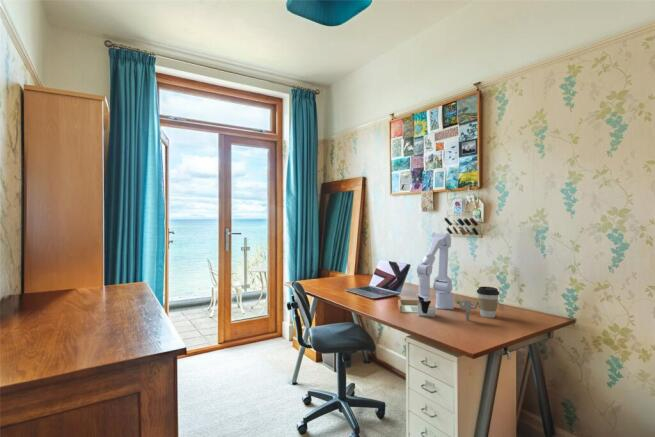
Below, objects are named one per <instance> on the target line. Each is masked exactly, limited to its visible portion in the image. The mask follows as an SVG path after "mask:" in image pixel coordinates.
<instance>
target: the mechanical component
mask: <svg viewBox="0 0 655 437" xmlns="http://www.w3.org/2000/svg"><path fill="white" fill-rule="evenodd" d="M456 304H457V305H458V306H459V308H460V309H463V310H464V311H465V320H466V321H467V322H468V321H470V313H471V310H476V309H478V306H479V301H474V303H472V301H471V300H468V299H467V300H466V299H458V300H457V301H456ZM473 306H474V307H473Z"/></svg>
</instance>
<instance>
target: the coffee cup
mask: <svg viewBox="0 0 655 437" xmlns="http://www.w3.org/2000/svg"><path fill="white" fill-rule="evenodd" d="M476 293H477V298H478V303H479V305H478V306H479V307H478V308H479V315H480V317H483V318H487V319H494V318H495V317H496V315H497V314H496V313H497V308H498V302H499V296H500V291H499V290H498V288H496V287H492V286H479V287H478V289H476Z"/></svg>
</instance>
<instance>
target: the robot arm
mask: <svg viewBox="0 0 655 437" xmlns="http://www.w3.org/2000/svg"><path fill="white" fill-rule="evenodd" d="M430 242H431V244H430V247H429V250H428V252H427V253H425V254H424V257H423V259H422V261H421V263H419V264H418V265H417V267H416V273H417V277H418V293H416V297H417V299H418V300H419V301H420V302H421V305H422V311H423V313H425V314H427V312H428V307H430V304H431V303H432V300H429V298H430V297H431V294H430V293H431V289H430V287H431V285H430V284H431V283H430V282H431V275H432V273H433V265H434V262H435V261H436V256H435V255H436V253H437V252H439V255H438V272H437V274H438V275H436V276H435V277H434V278H433V284H432V288H433V290H434V292H435V294H436V295H435V304H434V308H435V309H439V310H454V294H453V292H452V291H453V279H452V278H450V277H449V276H448V266H449V265H448V262H449V248H451V246H452V236H451V234H450V233H449V232H448V233H443V232H442V233H441V232H432V234H431V236H430ZM438 250H439V251H438Z"/></svg>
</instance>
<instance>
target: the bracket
mask: <svg viewBox="0 0 655 437" xmlns="http://www.w3.org/2000/svg"><path fill="white" fill-rule="evenodd" d="M416 315H417V317H433V318H435V317H436V307H435V306H434V307H432V306H431V307H430V306H429V307H428V312H427V314H425V313H423V311H422V305H421V302H420V301H417V313H416Z"/></svg>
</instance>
